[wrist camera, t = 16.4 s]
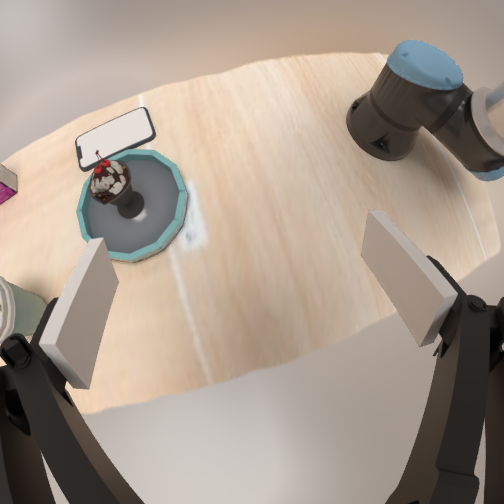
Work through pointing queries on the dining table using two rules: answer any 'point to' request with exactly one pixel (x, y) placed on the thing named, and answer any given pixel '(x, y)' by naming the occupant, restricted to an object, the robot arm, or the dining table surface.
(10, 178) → the candy bar box
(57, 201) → the dining table surface
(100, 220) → the round tray
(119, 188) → the sundae
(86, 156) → the smartphone
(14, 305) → the disposable coffee cup
